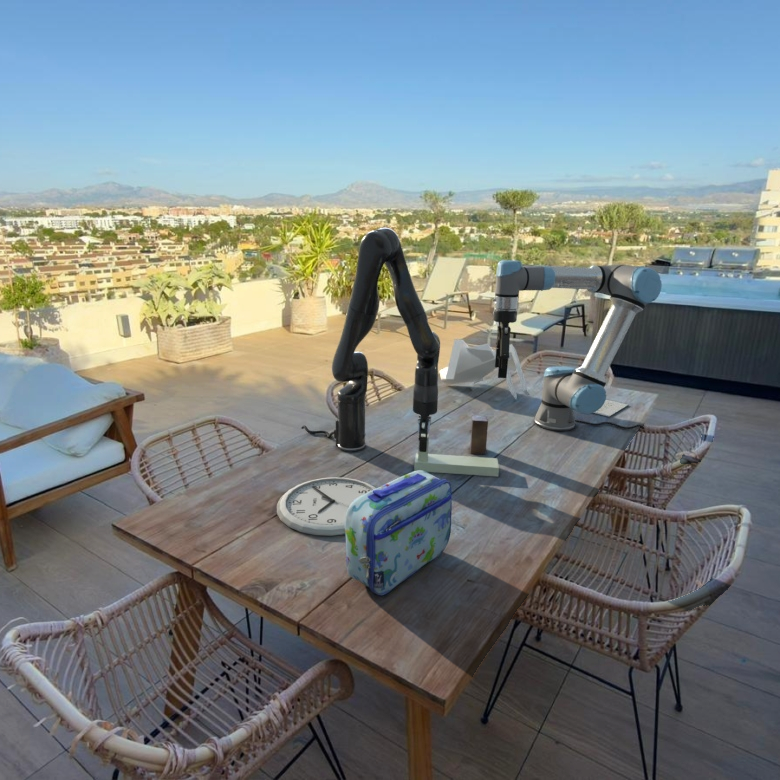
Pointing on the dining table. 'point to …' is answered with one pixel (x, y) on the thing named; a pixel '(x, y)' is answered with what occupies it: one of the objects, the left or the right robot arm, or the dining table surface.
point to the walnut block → (479, 434)
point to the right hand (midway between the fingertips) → (500, 372)
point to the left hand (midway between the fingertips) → (423, 446)
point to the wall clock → (320, 505)
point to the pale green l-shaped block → (455, 463)
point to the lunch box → (397, 529)
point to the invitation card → (610, 408)
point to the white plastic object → (478, 365)
